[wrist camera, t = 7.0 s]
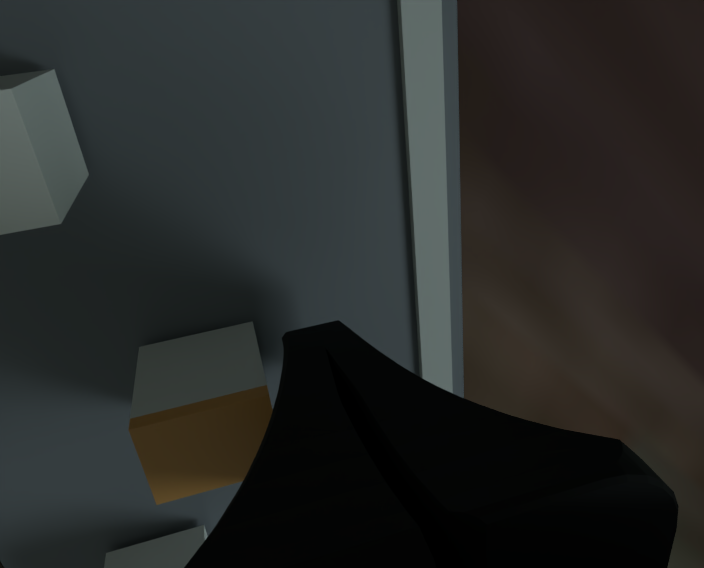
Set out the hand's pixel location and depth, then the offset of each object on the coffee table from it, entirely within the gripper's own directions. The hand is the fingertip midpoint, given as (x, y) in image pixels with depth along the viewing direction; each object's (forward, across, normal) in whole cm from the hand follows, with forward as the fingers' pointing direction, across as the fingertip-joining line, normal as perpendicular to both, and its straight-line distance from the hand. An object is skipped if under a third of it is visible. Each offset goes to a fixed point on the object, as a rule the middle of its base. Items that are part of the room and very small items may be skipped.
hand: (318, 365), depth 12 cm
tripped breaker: (+1, +2, 0) cm, 3 cm away
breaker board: (+3, +2, 0) cm, 3 cm away
